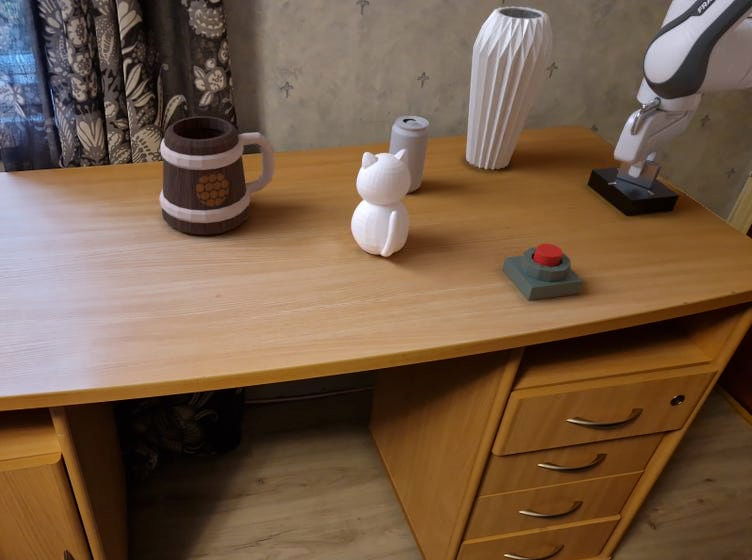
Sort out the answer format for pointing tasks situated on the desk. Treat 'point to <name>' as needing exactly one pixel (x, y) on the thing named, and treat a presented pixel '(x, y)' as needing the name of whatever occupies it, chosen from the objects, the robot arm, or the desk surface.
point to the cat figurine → (382, 203)
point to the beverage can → (411, 145)
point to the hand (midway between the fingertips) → (638, 172)
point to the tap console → (632, 193)
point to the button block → (541, 276)
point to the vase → (505, 81)
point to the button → (548, 255)
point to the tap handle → (645, 178)
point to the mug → (208, 175)
